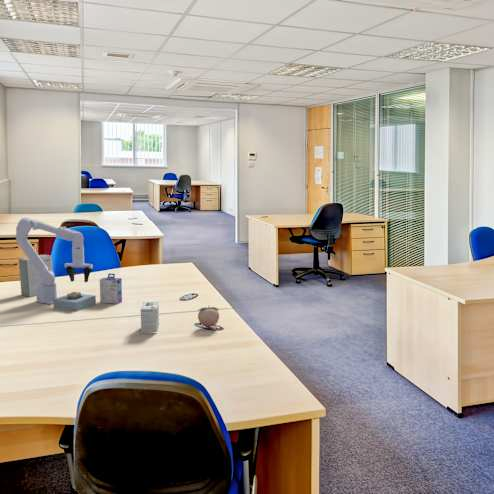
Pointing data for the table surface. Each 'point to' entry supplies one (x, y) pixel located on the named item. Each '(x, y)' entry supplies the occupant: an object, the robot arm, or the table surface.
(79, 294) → the two-tone metal cube
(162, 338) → the table surface
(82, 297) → the well block
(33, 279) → the hard drive box
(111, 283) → the ink cartridge box
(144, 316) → the light bulb box
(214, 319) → the decorative fruit
